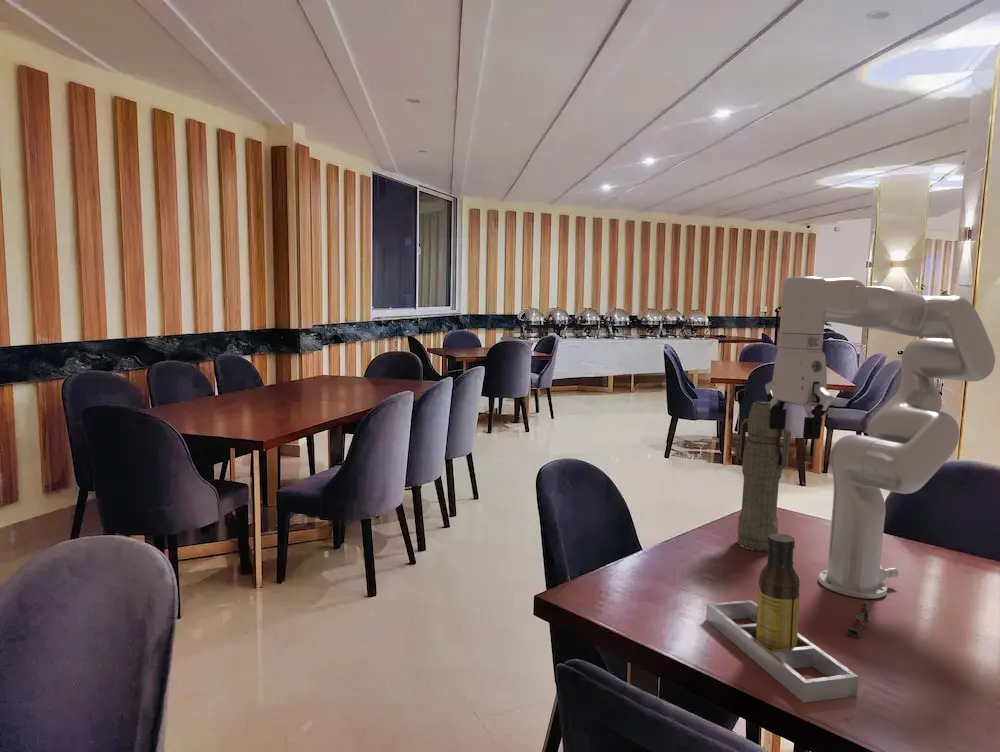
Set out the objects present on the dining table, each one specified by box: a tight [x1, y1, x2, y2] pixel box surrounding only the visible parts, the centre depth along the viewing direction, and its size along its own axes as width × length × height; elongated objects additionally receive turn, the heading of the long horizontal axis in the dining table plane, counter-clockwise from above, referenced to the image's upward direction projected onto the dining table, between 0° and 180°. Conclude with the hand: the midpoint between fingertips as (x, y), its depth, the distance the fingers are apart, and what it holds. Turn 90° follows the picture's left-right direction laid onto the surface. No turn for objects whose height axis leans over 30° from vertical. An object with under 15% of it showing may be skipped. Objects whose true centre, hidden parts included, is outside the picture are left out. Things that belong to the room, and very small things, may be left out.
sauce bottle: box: [756, 532, 801, 650], centre depth 108 cm, size 6×6×20 cm
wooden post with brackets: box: [846, 601, 870, 639], centre depth 118 cm, size 2×8×4 cm, turn 135°
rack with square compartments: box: [705, 599, 860, 704], centre depth 109 cm, size 9×26×3 cm, turn 14°
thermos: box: [737, 400, 792, 551], centre depth 158 cm, size 9×12×35 cm
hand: (793, 433), depth 125 cm, fingers open, 9 cm apart
